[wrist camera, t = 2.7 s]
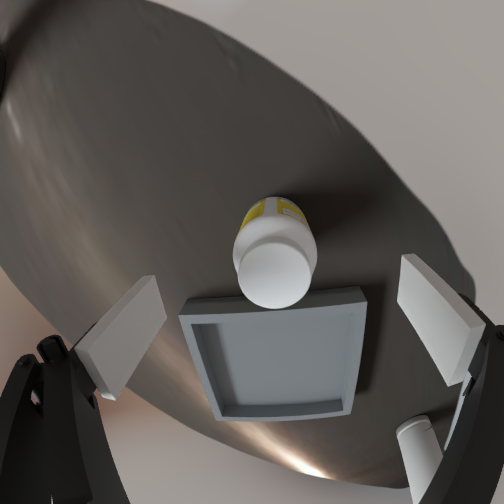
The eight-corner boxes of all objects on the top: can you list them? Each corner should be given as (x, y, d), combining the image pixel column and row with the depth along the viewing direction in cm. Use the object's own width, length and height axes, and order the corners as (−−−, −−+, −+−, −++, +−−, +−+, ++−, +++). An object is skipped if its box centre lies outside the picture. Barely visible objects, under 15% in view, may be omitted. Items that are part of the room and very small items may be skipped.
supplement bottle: (247, 257, 25) (229, 320, 16) (241, 198, 23) (217, 231, 14) (307, 254, 24) (323, 316, 15) (305, 194, 22) (324, 225, 13)
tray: (187, 298, 27) (178, 315, 24) (358, 285, 25) (367, 301, 22) (219, 403, 33) (216, 420, 30) (346, 397, 31) (350, 414, 28)
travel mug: (430, 408, 32) (463, 504, 13) (426, 426, 34) (451, 512, 15) (396, 421, 33) (421, 523, 14) (395, 438, 35) (414, 527, 16)
